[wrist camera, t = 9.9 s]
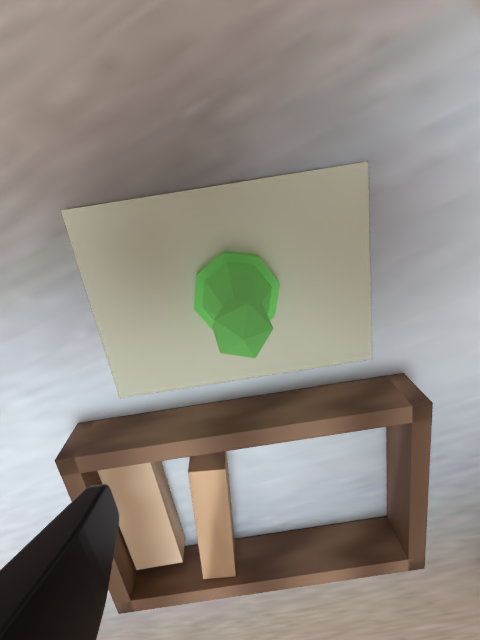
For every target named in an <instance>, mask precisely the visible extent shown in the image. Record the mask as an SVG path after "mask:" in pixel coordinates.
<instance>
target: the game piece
mask: <svg viewBox="0 0 480 640" xmlns="http://www.w3.org/2000/svg"><path fill="white" fill-rule="evenodd" d="M279 288H280V284H279V282H278V280H277V279H276V278H275V276H274V275H273V274H272V272H271V271H270V270H269V269H268V267H267V266H266V265H265V263H264V262H263V261H262V260H261V258H260V257H259V256H258V255H257V254H248V253H239V252H230V251H223V252H222V253H220V254H219V255H218V256H217V257H215V258H214V259H213V260H212V261H210V262H209V263H208V264H207V265H206V266H204V267H203V268H202V269H201V270H199V271H198V272H197V275H196V286H195V299H194V310H195V311H196V312H197V313H198V314H199V315H200V317H201V318H202V319H203V320H204V321H205V322H206V323H207V324H208V326H209V327H210V328H211V329H212V330H213V332H214V335H215V338H216V341H217V344H218V348H219V351H220V353H222V354H229V355H236V356H243V357H250V358H256V357H257V355H258V354H259V352H260V350H261V349H262V347H263V345H264V344H265V342H266V340H267V339H268V337H269V335H270V334H271V332H272V330H273V326H272V324H271V322H270V320H271V319H273V318H274V317H275V313H276V306H277V300H278V294H279Z"/></svg>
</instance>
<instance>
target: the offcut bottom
mask: <svg viewBox="0 0 480 640" xmlns="http://www.w3.org/2000/svg"><path fill="white" fill-rule="evenodd" d="M97 472H98V474H99V477H100V479H101V482H102V484H107V485H108V486H109V487H110V489H111V491H112V494H113V497H114V500H115V503H116V505H117V508H118V511H119V527H120V529H121V532H122V534H123V537H124V539H125V542H126V545H127V547H128V550H129V552H130V555H131V557H132V560H133V562H134V565H135V567H136V570H140V569H146V568H152V567H157V566H163V565H169V564H175V563H181V562H183V556H184V546H185V536H184V533H183V530H182V527H181V523H180V520H179V517H178V514H177V511H176V507H175V504H174V501H173V498H172V495H171V491H170V488H169V485H168V482H167V479H166V475H165V472H164V469H163V466H162V463H161V461H157V462H150V463H144V464H137V465H131V466H124V467H118V468H111V469H104V470H98V471H97Z"/></svg>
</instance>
